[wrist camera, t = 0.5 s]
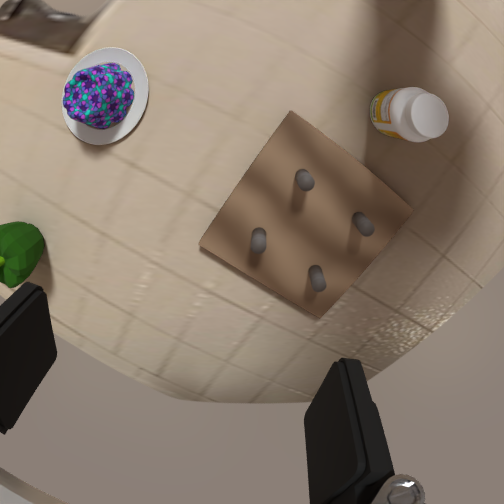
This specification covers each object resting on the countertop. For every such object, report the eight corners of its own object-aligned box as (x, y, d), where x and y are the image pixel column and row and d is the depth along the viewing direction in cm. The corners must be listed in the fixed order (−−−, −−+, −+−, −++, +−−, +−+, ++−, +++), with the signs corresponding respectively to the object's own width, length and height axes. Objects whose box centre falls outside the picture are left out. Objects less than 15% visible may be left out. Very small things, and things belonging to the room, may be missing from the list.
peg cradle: (290, 110, 31) (294, 109, 27) (409, 206, 35) (427, 220, 30) (200, 239, 38) (191, 257, 33) (318, 312, 42) (323, 335, 37)
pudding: (168, 108, 32) (153, 107, 27) (90, 162, 35) (68, 171, 30) (124, 29, 28) (104, 19, 23) (52, 88, 30) (27, 88, 26)
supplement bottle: (419, 122, 31) (464, 128, 22) (384, 145, 32) (423, 157, 23) (395, 82, 29) (436, 75, 20) (359, 104, 31) (392, 103, 22)
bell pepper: (24, 201, 36) (-22, 225, 27) (59, 239, 39) (17, 272, 30) (6, 238, 39) (-34, 266, 30) (39, 274, 41) (2, 308, 32)
